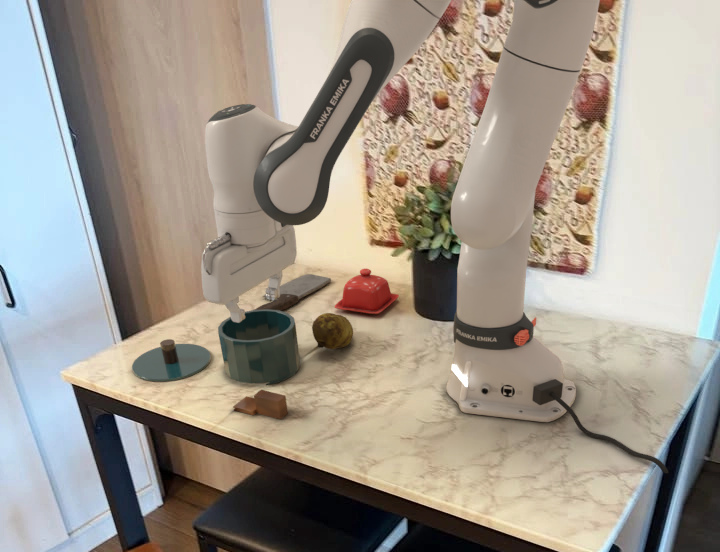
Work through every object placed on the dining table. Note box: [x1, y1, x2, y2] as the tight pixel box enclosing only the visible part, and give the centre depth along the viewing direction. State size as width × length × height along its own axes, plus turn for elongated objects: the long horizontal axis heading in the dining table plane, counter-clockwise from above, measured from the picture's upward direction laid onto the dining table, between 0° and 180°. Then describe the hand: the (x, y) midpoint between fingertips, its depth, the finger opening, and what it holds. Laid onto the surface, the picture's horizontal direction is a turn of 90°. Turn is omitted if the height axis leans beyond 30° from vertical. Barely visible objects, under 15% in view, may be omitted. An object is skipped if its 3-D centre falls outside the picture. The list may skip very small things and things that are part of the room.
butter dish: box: [334, 268, 400, 315], centre depth 165 cm, size 12×12×8 cm
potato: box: [311, 312, 354, 350], centre depth 150 cm, size 8×13×8 cm, turn 149°
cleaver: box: [253, 273, 332, 311], centre depth 173 cm, size 30×10×2 cm, turn 147°
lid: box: [131, 338, 212, 383], centre depth 148 cm, size 15×15×5 cm
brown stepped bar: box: [232, 389, 289, 420], centre depth 132 cm, size 10×4×4 cm, turn 60°
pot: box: [217, 309, 301, 386], centre depth 144 cm, size 14×15×9 cm
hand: (256, 309), depth 123 cm, fingers open, 8 cm apart
